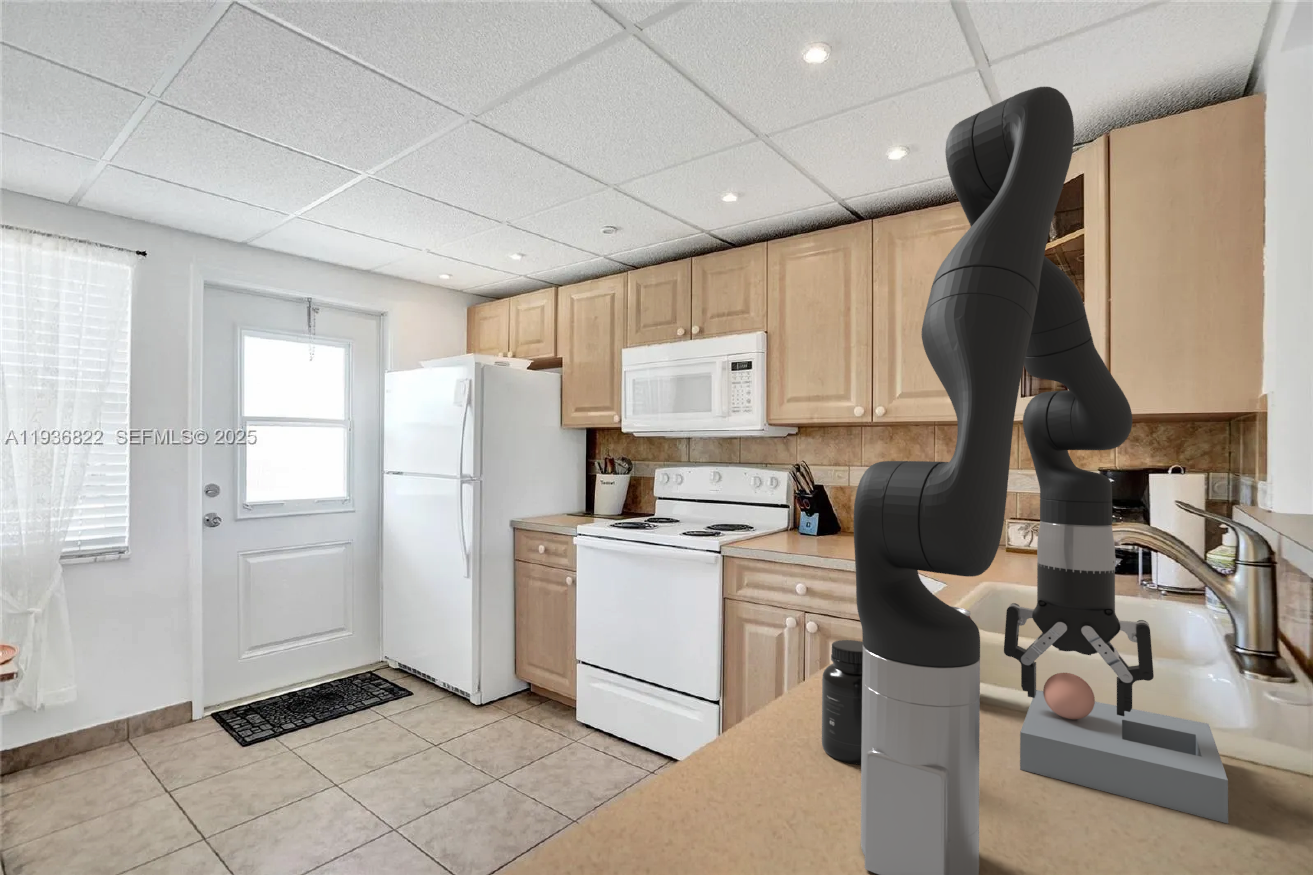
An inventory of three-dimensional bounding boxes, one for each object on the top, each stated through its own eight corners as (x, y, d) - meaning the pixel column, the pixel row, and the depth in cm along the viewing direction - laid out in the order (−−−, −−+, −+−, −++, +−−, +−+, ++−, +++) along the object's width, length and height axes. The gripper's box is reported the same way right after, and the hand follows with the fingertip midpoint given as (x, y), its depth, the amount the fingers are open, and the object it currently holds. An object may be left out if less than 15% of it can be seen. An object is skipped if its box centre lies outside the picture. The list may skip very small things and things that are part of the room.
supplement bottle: (809, 742, 76) (811, 639, 76) (858, 735, 78) (859, 635, 78) (845, 770, 69) (846, 657, 70) (897, 760, 72) (898, 651, 72)
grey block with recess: (1228, 823, 60) (1227, 780, 60) (1020, 769, 70) (1020, 732, 70) (1209, 759, 73) (1208, 723, 73) (1035, 721, 83) (1035, 689, 83)
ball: (1094, 730, 71) (1094, 684, 71) (1041, 719, 74) (1041, 675, 74) (1095, 716, 75) (1095, 672, 75) (1045, 705, 78) (1045, 663, 78)
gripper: (1000, 559, 76) (1000, 700, 75) (1154, 574, 67) (1154, 732, 67) (1009, 552, 82) (1009, 682, 81) (1151, 565, 74) (1151, 709, 73)
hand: (1075, 704), depth 74 cm, fingers open, 8 cm apart
